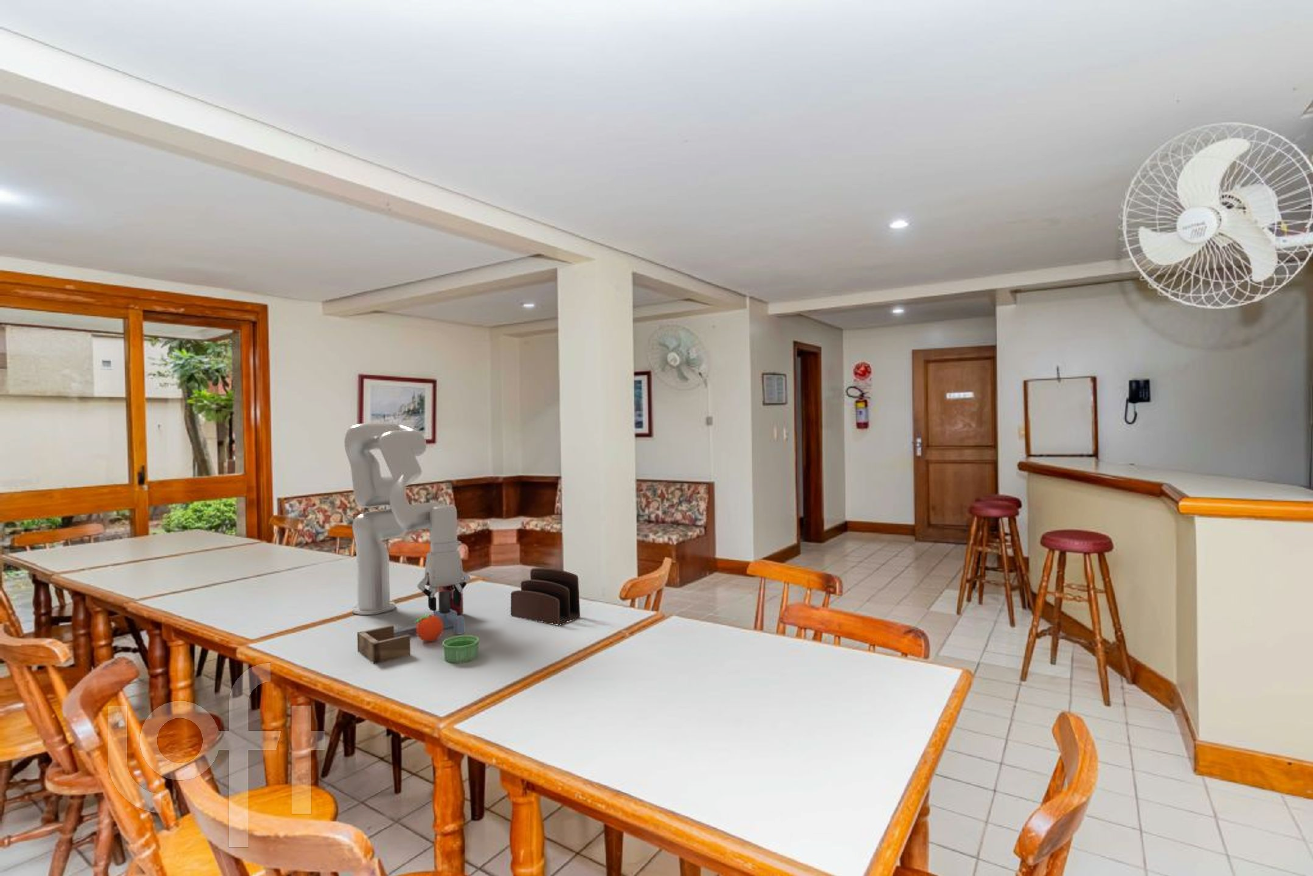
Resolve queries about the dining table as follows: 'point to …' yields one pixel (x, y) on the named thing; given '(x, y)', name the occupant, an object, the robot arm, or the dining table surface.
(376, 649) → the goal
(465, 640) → the ramekin
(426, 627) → the clementine
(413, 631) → the rail
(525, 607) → the letter holder
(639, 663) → the dining table surface
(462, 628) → the kicker
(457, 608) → the soda can
